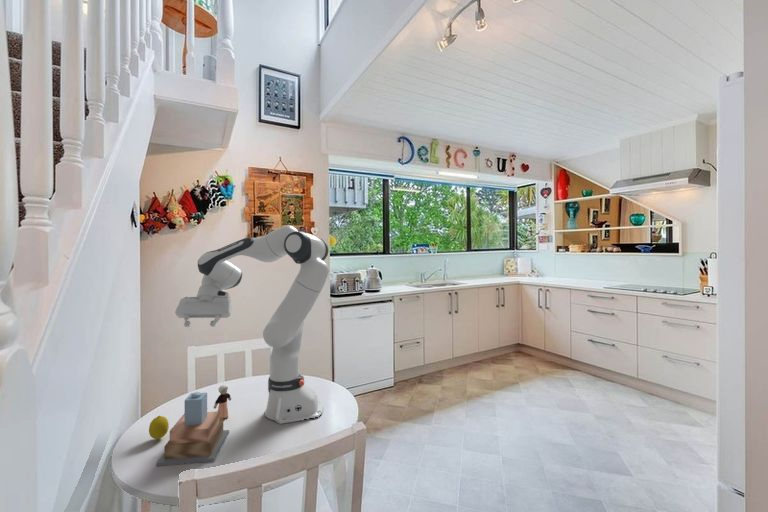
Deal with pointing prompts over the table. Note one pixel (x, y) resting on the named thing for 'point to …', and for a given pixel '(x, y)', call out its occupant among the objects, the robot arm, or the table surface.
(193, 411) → the blue knobbed block
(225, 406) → the grandmother figurine
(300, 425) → the table surface
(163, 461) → the baseplate
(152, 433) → the lemon
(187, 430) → the terracotta brick
